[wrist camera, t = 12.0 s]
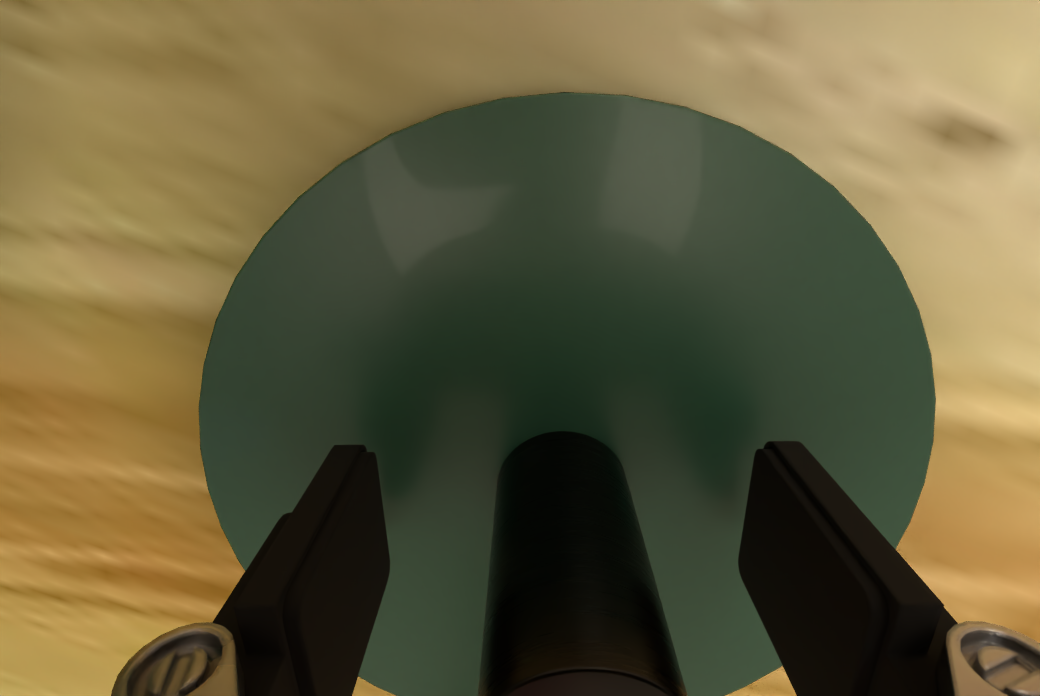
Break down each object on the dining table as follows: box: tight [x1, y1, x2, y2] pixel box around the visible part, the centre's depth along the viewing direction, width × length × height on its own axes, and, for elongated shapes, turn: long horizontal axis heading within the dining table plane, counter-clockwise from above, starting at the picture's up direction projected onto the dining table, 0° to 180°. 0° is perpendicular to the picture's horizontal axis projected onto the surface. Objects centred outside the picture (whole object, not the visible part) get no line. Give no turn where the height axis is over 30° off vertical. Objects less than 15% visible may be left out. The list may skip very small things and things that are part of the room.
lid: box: [199, 92, 936, 696], centre depth 10 cm, size 16×16×7 cm
